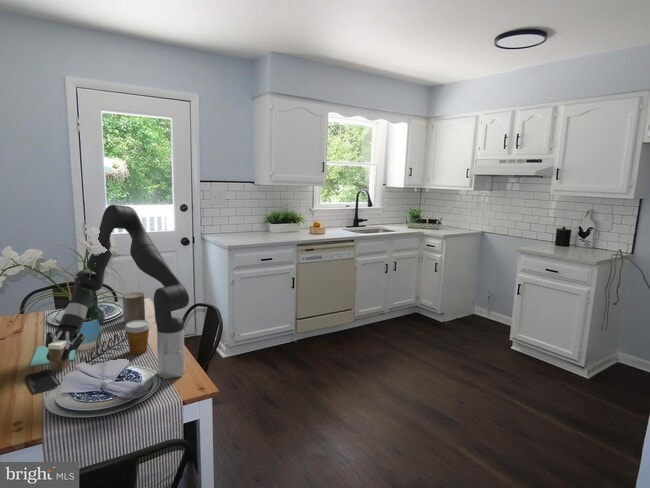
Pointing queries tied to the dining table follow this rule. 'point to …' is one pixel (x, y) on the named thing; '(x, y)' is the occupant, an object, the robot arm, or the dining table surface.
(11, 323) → the dining table surface
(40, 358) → the teal mat
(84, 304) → the robot arm
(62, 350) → the walnut block
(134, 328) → the disposable coffee cup
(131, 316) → the pillar candle
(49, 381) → the phone
